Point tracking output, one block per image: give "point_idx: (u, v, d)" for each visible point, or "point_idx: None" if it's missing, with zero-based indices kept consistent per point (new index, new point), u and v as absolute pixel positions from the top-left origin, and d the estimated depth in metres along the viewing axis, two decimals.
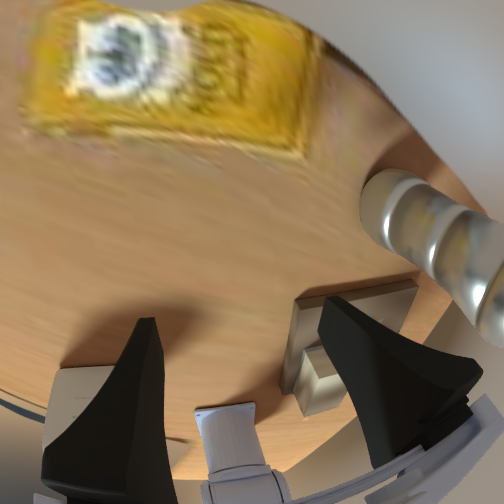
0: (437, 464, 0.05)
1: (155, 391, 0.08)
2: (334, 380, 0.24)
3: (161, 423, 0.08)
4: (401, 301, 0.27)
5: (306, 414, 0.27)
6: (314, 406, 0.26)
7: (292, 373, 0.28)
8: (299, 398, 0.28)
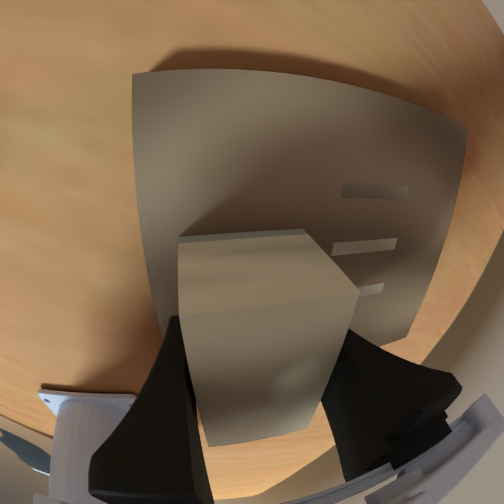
0: (437, 464, 0.05)
1: (191, 389, 0.08)
2: (264, 342, 0.07)
3: (196, 421, 0.08)
4: (443, 150, 0.10)
5: (212, 442, 0.09)
6: (225, 425, 0.09)
7: None
8: None
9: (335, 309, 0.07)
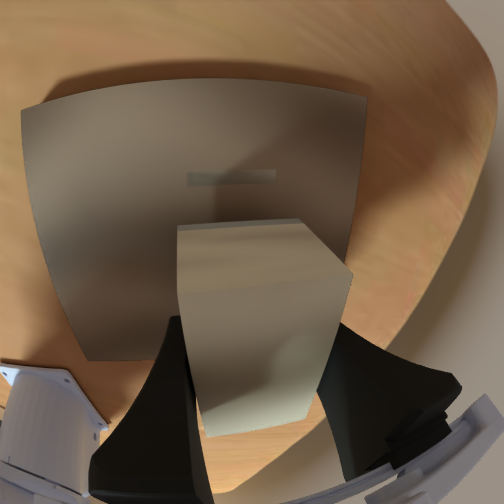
0: (437, 464, 0.05)
1: (191, 389, 0.08)
2: (260, 323, 0.07)
3: (196, 421, 0.08)
4: (324, 126, 0.11)
5: (210, 431, 0.10)
6: (222, 413, 0.09)
7: (69, 302, 0.11)
8: None
9: (329, 292, 0.07)
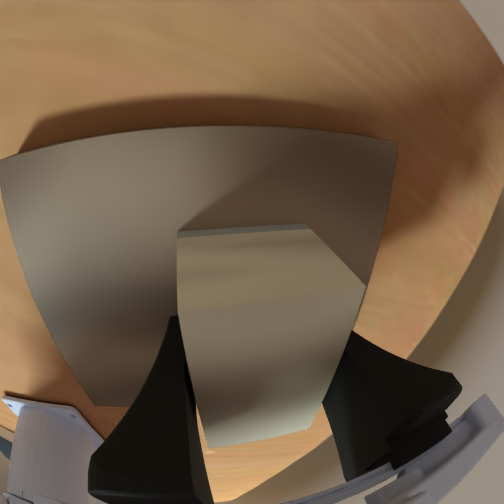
0: (437, 464, 0.05)
1: (191, 389, 0.08)
2: (267, 339, 0.07)
3: (196, 421, 0.08)
4: (350, 180, 0.09)
5: (212, 443, 0.09)
6: (226, 426, 0.08)
7: (73, 359, 0.10)
8: None
9: (340, 305, 0.07)
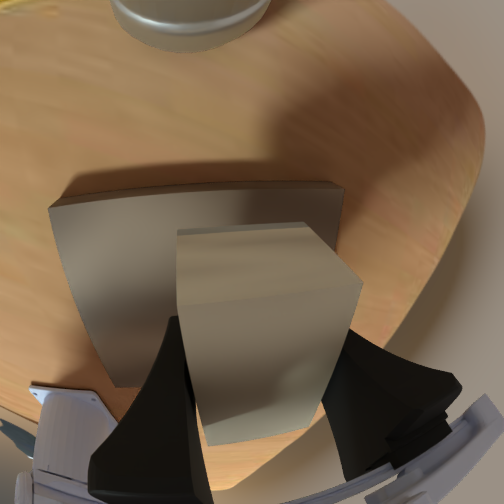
0: (437, 464, 0.05)
1: (191, 389, 0.08)
2: (265, 335, 0.07)
3: (196, 421, 0.08)
4: (304, 220, 0.14)
5: (211, 441, 0.09)
6: (225, 423, 0.09)
7: (103, 348, 0.15)
8: None
9: (338, 301, 0.07)
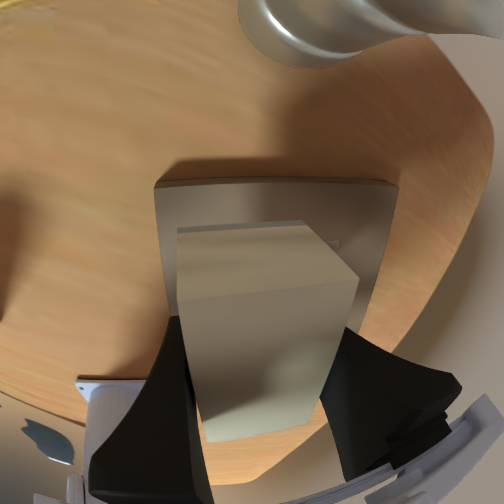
0: (437, 464, 0.05)
1: (191, 389, 0.08)
2: (263, 329, 0.07)
3: (196, 421, 0.08)
4: (371, 210, 0.16)
5: (211, 437, 0.09)
6: (224, 419, 0.09)
7: None
8: None
9: (335, 296, 0.07)
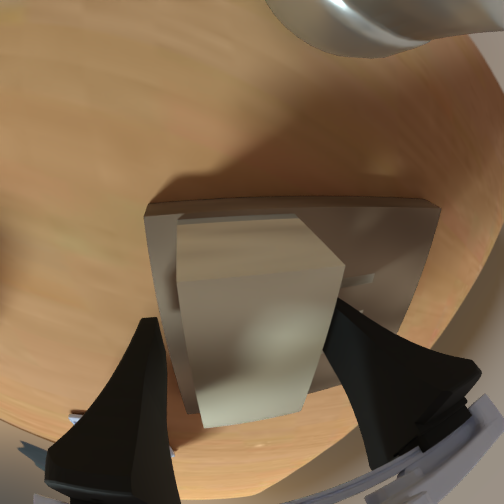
0: (437, 464, 0.05)
1: (158, 391, 0.08)
2: (256, 312, 0.07)
3: (164, 423, 0.08)
4: (411, 237, 0.13)
5: (207, 422, 0.10)
6: (220, 403, 0.09)
7: (186, 377, 0.14)
8: None
9: (322, 282, 0.07)
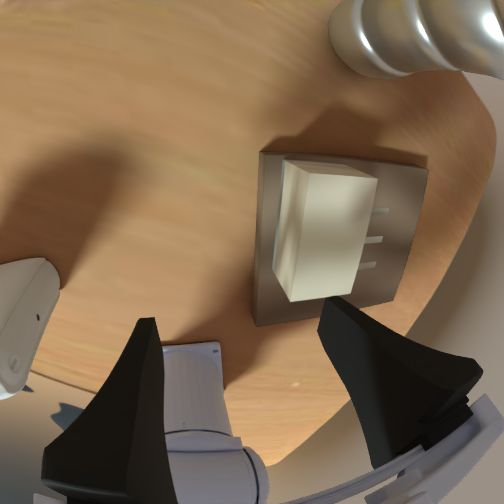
0: (437, 464, 0.05)
1: (155, 391, 0.08)
2: (339, 196, 0.14)
3: (161, 423, 0.08)
4: (410, 186, 0.20)
5: (294, 294, 0.17)
6: (308, 271, 0.16)
7: (266, 283, 0.21)
8: (281, 268, 0.18)
9: (368, 185, 0.14)
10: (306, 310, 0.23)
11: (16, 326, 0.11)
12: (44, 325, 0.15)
